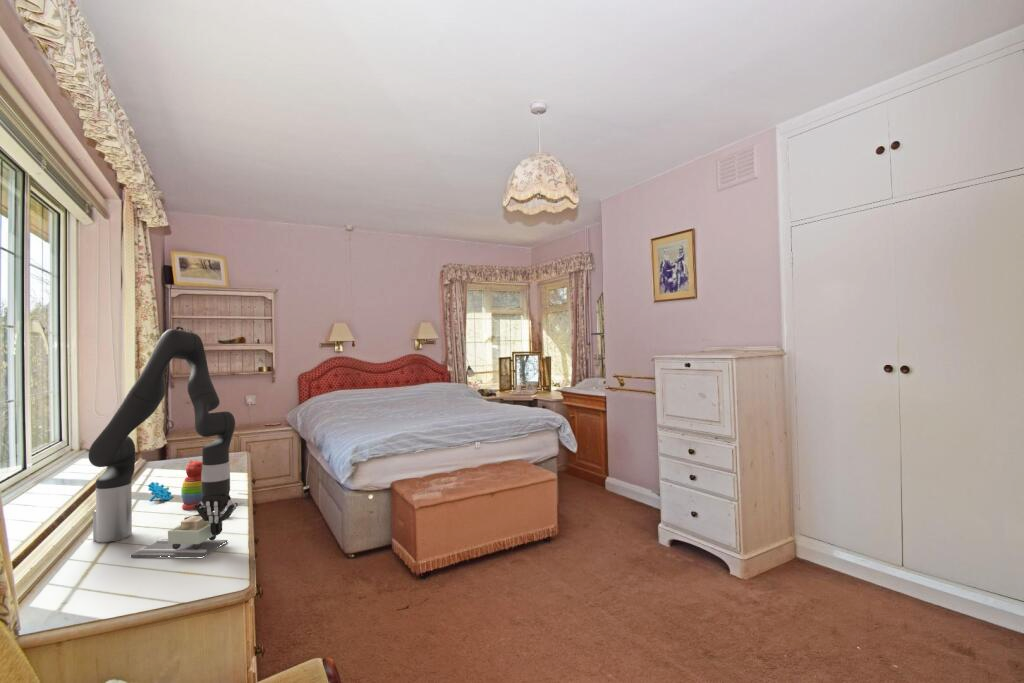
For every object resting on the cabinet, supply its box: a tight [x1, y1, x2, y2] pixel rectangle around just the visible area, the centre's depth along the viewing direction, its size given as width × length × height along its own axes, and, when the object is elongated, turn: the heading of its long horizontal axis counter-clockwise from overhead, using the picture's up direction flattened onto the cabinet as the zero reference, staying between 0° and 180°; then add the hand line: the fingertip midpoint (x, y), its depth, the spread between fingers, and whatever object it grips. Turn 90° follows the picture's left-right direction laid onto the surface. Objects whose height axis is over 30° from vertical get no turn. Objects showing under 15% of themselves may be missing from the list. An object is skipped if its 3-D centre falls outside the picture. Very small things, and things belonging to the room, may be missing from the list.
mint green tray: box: [167, 521, 217, 550], centre depth 153 cm, size 10×10×6 cm
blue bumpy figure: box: [147, 481, 173, 502], centre depth 204 cm, size 11×6×10 cm
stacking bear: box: [180, 460, 203, 511], centre depth 196 cm, size 11×10×18 cm
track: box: [130, 538, 229, 558], centre depth 153 cm, size 22×12×1 cm, turn 86°
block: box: [180, 515, 208, 531], centre depth 153 cm, size 5×5×5 cm
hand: (216, 534), depth 152 cm, fingers closed
